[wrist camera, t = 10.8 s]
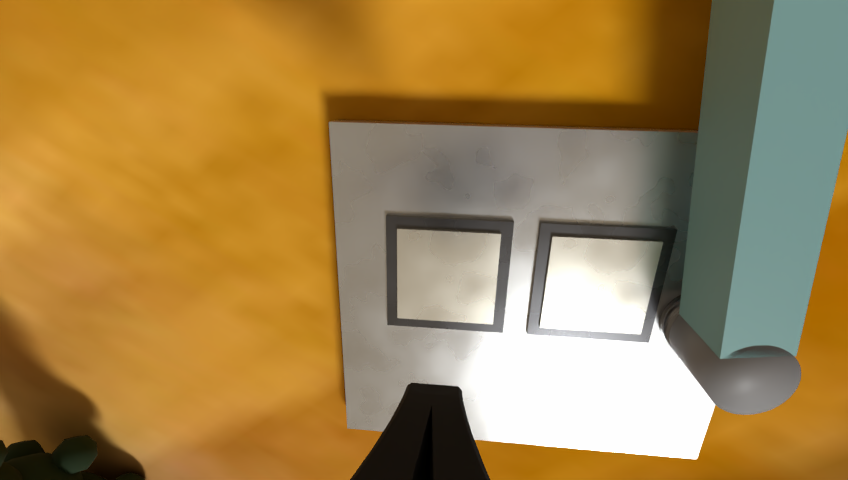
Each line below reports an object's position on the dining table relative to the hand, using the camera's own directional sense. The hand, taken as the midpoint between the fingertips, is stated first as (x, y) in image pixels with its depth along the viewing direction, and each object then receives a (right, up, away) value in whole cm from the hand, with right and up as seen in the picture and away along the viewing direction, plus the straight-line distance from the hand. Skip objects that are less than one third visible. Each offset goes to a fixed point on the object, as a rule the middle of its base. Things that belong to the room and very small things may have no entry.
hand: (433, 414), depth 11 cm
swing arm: (+11, +8, +4) cm, 14 cm away
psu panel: (+5, +2, +9) cm, 10 cm away
